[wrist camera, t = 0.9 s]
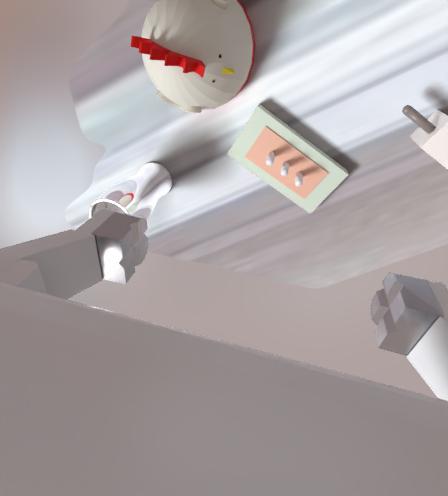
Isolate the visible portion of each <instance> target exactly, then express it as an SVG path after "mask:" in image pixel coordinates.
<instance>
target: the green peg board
mask: <svg viewBox="0 0 448 496" xmlns="http://www.w3.org/2000/svg"><path fill="white" fill-rule="evenodd" d="M227 155H228V156H230V157H231V158H233V159H234V160H235V161H237V162H238V163H240V164H241V165H242V166H244V167H245V168H247V169H248V170H249V171H251V172H252V173H254V174H255V175H256V176H258V177H259V178H261V179H262V180H264V181H265V182H266V183H268V184H269V185H271V186H272V187H273V188H275V189H276V190H278V191H279V192H280V193H282V194H283V195H285V196H286V197H287V198H289V199H290V200H292V201H293V202H294V203H296V204H297V205H299V206H300V207H301V208H303V209H304V210H306V211H307V212H309V213H311V212H312V211H313V210H314V209H315V208H316V207H317V206H318V205H319V204H320V203H321V202H322V201H323V200H324V199H325V198H326V197H327V196H328V195H329V194H330V193H331V192H332V191H333V190H334V189H335V188H336V187H337V186H338V185H339V184H340V183H341V182H342V181H343V180H344V179H345V178H346V177H347V176H348V171H347V169H345V168H344V167H343V166H341V165H340V164H339V163H337V162H336V161H335V160H333V159H332V158H331V157H329V156H328V155H327V154H325V153H324V152H323V151H321V150H320V149H319V148H317V147H316V146H315V145H313V144H312V143H311V142H310V141H308V140H307V139H306V138H304V137H303V136H302V135H300V134H299V133H298V132H296V131H295V130H294V129H292V128H291V127H290V126H288V125H287V124H286V123H284V122H283V121H282V120H280V119H279V118H278V117H276V116H275V115H274V114H272V113H271V112H270V111H268V110H267V109H266V108H265V107H263V106H262V105H261V104H259V105H258V106H257V108H256V109H255V111H254V113H253V114H252V116H251V117H250V119H249V120H248V122H247V123H246V125H245V127H244V128H243V130H242V131H241V133H240V134H239V136H238V138H237V139H236V141H235V142H234V144H233V145H232V147H231V148H230V150H229V152H228V153H227Z"/></svg>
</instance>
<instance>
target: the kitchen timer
mask: <svg viewBox="0 0 448 496" xmlns="http://www.w3.org/2000/svg"><path fill="white" fill-rule="evenodd" d="M131 47H135V48H139V53H142V58H143V62H144V65H145V67H146V70H147V73H148V75H149V77H150V78H151V80H152V82H153V83H154V85H155V87H156V88H157V89H158V90H159V92H158V93H157V96H158V97H159V98H160V99H162V100H163V101H165V102H167V103H169V104H171V105H173V106H175V107H177V108H179V109H181V110H183V111H186V112H193V113H199V112H201V110H206V109H214V108H216V107H219V106H221V105H223V104H226V103H227V102H228V101H230V100H231V99H232V98H233V97H234V96H235V95H237V94H238V93H239V92H240V91H241V89H242V87H243V86H244V84H245V83H246V81H247V80H248V78H249V75H250V72H251V69H252V66H253V63H254V50H255V41H254V35H253V29H252V25H251V22H250V20H249V18H248V15H247V13H246V11H245V8H244V7H243V6H242V5H241V3H240V2H239V1H238V0H157V1H156V2H155V4H154V5H153V6H152V8H151V9H150V10H149V12H148V15H147V17H146V20H145V22H144V25H143V29H142V37H137V36H132V39H131Z"/></svg>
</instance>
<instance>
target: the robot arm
mask: <svg viewBox="0 0 448 496" xmlns="http://www.w3.org/2000/svg"><path fill="white" fill-rule="evenodd" d="M146 230H147V220H146V219H145V218H144V217H140V216H136V215H132V214H128V213H124V212H120V211H116V210H111V209H106V208H104V209H101V210H100V211H98V212H97V213H96V214H95V215H94V216H92V217H91V218H90V219H89V220H88V221H86V222H85V223H84V224H83V225H82V226H80V227H79V228H78V229H77V230H68V231H64V232H60V233H57V234H53V235H49V236H46V237H42V238H38V239H35V240H31V241H28V242H24V243H20V244H16V245H13V246H9V247H5V248H2V249H0V496H448V290H447V288H446V286H445V285H444V284H443V283H441V282H436V281H430V280H425V279H419V278H414V277H409V276H403V275H399V274H395V273H389V274H387V275H386V277H385V278H384V280H383V286H384V289H381V290H379V291H377V292H376V294H375V296H374V298H373V300H372V304H371V318H372V320H373V321H374V323H375V324H376V325H377V327H376V329H375V330H374V332H375V336H376V341H377V345H378V348H380V349H384V350H388V351H391V352H395V353H399V354H402V355H406V356H407V358H408V360H409V361H410V362H411V363H412V365H413V366H414V367H415V369H416V370H417V371H418V372H419V374H420V375H421V376H422V378H423V379H424V380H425V381H426V383H427V384H428V385H429V386H430V388H431V389H432V390H433V392H434V393H435V394H436V396H437V397H438V398H435V397H432V396H427V395H424V394H420V393H416V392H413V391H409V390H405V389H401V388H397V387H393V386H389V385H386V384H382V383H378V382H374V381H371V380H367V379H363V378H360V377H356V376H352V375H349V374H345V373H341V372H337V371H333V370H330V369H326V368H322V367H318V366H315V365H311V364H308V363H304V362H300V361H296V360H292V359H289V358H285V357H281V356H278V355H274V354H270V353H266V352H263V351H259V350H255V349H251V348H247V347H244V346H240V345H236V344H232V343H229V342H224V341H221V340H217V339H213V338H210V337H206V336H202V335H198V334H195V333H190V332H187V331H183V330H180V329H175V328H172V327H168V326H164V325H160V324H157V323H153V322H149V321H145V320H142V319H138V318H134V317H131V316H127V315H123V314H119V313H116V312H112V311H108V310H104V309H101V308H97V307H93V306H89V305H86V304H81V303H78V302H74V301H70V300H67V299H68V298H70V297H72V296H74V295H76V294H77V293H79V292H81V291H83V290H85V289H87V288H89V287H91V286H92V285H94V284H96V283H98V282H100V281H102V279H105V280H110V281H115V282H119V283H123V284H126V283H127V282H128V281H129V279H130V278H131V276H132V275H133V274H134V273H135V266H137V265H139V264H141V263H142V262H143V260H144V259H145V256H146V254H147V251H148V238H147V237H146V235H145V234H144V232H145V231H146Z"/></svg>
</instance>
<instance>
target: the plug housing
mask: <svg viewBox="0 0 448 496" xmlns="http://www.w3.org/2000/svg"><path fill="white" fill-rule="evenodd" d="M402 112H403V114H405V115H406V116H407V117H408V118H409V119H411V120H412V121H413V122H414V123H416V124H417V125H418V126H419V128H418V129H417V130H416V131H415V132H413V133H412V134H411V135H410V137H411V138H412V139H413V140H414V141H415V142H416V143H417V144H418V145H419V147H420V148H422V149H423V150H424V151H425V152H427V153H428V154H429V155H430V156H432V157H433V158H434V159H435V160H437V161H438V162H439V163H440V164H442V165H443V166H444V167H445V168H446V169H448V115H446V114H444V113H442V112H441V111H439V110H436V111H435V112H434V113H433V114H432V115H431V116H430V117H429V118H428V119H426V118H425V117H423V116H422V115H421V114H420V113H419V112H417V111H416V110H415V109H414V108H413V107H411V106H410V105H407V106H405V107H404V108H403V110H402Z"/></svg>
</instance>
